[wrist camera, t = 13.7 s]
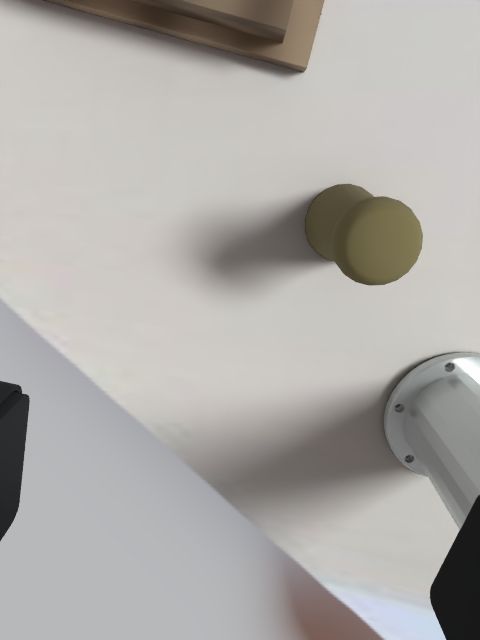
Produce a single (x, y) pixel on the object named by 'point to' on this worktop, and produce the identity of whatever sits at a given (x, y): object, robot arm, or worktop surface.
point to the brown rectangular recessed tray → (224, 24)
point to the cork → (364, 234)
